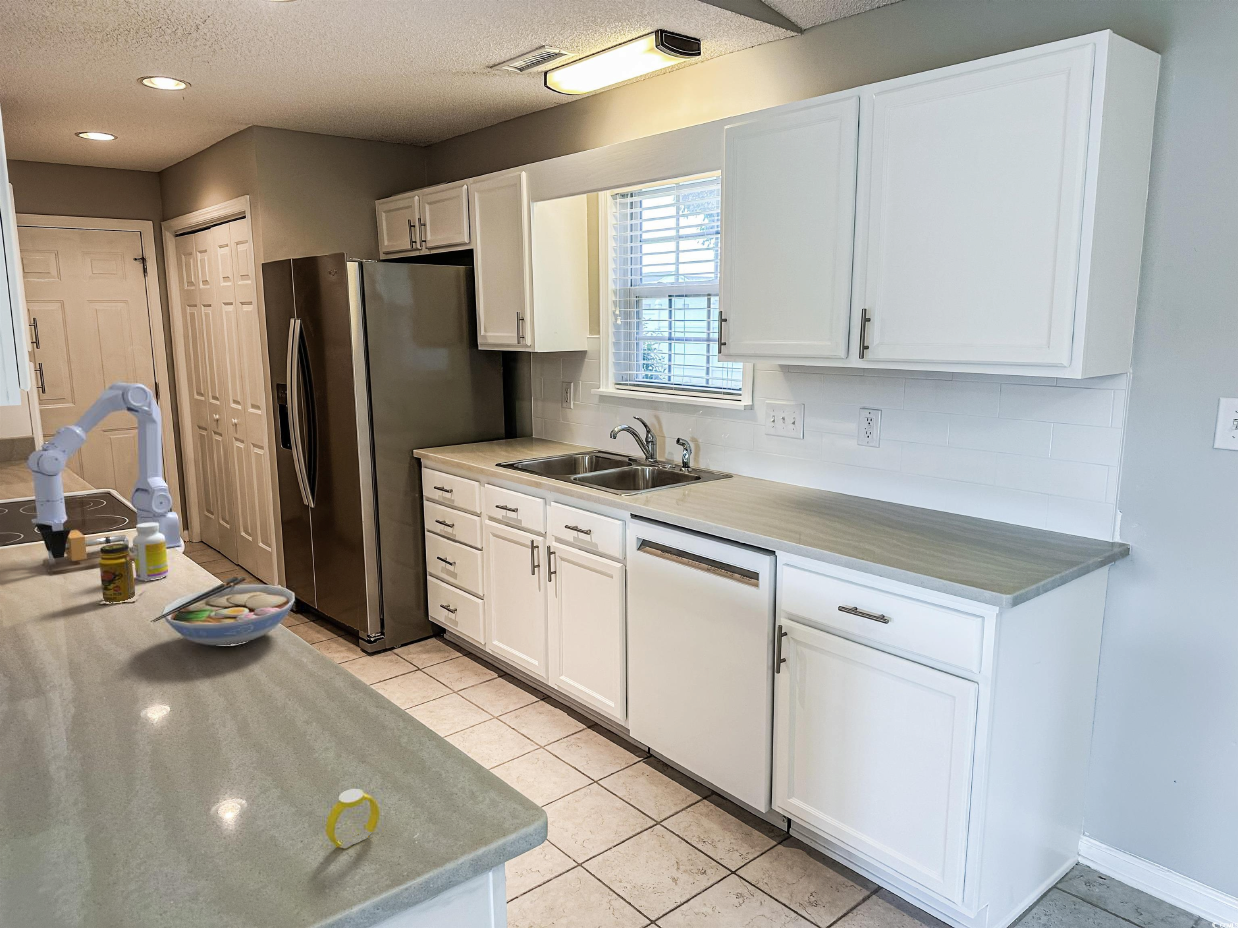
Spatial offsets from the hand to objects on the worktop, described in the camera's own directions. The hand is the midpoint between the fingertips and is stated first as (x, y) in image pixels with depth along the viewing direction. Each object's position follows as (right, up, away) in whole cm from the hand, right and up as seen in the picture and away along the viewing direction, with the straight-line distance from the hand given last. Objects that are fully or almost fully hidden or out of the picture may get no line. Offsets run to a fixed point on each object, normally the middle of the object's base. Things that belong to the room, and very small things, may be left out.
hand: (55, 554), depth 204 cm
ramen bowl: (+64, -12, -45) cm, 79 cm away
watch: (+106, -22, -107) cm, 152 cm away
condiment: (+29, -7, -22) cm, 37 cm away
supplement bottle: (+27, -5, -7) cm, 29 cm away
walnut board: (+5, -3, +5) cm, 8 cm away
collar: (+3, -1, +3) cm, 4 cm away
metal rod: (+5, -3, +5) cm, 8 cm away
